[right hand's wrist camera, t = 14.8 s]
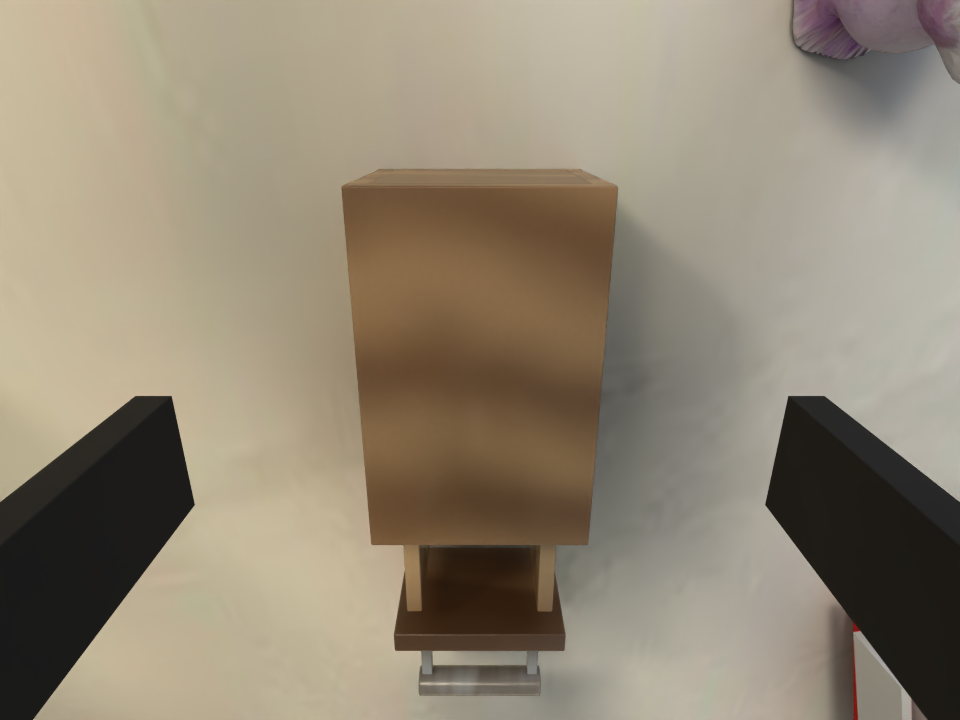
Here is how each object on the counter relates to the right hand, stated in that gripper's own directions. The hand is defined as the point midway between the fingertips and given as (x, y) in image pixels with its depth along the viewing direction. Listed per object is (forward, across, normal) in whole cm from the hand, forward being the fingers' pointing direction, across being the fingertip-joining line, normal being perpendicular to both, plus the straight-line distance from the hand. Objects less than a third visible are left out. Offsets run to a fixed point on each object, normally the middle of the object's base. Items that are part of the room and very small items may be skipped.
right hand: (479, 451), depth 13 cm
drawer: (+20, 0, -15) cm, 25 cm away
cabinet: (+21, 0, -4) cm, 21 cm away
